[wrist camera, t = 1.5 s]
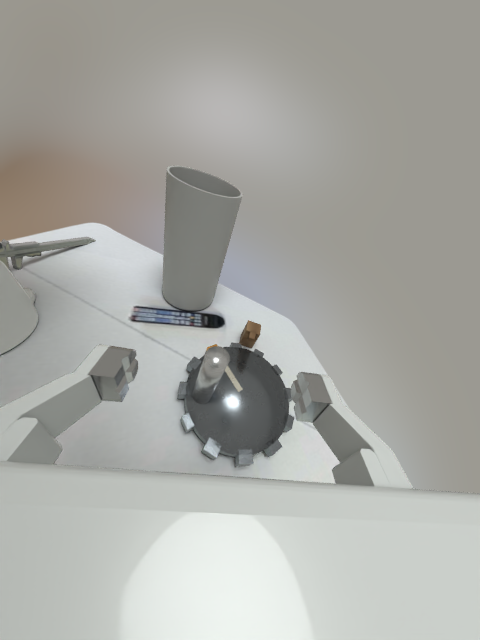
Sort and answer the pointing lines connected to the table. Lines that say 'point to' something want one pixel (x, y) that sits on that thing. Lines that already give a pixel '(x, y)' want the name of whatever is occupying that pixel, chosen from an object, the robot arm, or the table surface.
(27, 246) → the caliper
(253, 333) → the brown wooden block
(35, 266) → the table surface
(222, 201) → the cylinder vase
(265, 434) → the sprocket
